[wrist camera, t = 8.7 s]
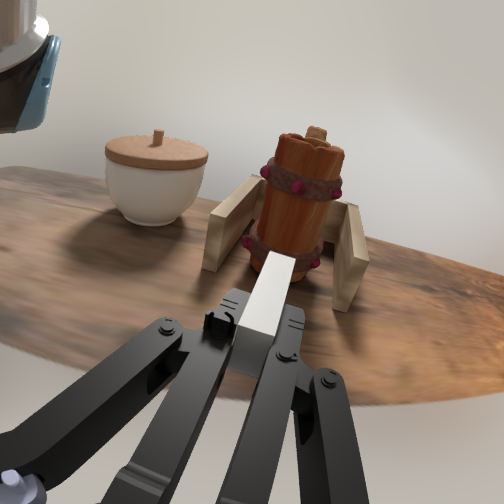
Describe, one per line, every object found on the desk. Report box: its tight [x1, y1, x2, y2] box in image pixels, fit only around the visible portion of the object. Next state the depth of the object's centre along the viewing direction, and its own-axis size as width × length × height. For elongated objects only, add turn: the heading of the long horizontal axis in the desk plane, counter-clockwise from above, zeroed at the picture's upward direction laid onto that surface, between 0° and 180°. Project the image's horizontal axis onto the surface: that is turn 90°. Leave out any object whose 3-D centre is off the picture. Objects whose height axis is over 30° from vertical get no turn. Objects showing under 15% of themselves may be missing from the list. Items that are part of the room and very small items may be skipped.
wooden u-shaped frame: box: [202, 174, 369, 313], centre depth 37 cm, size 15×16×6 cm
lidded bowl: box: [105, 129, 208, 227], centre depth 38 cm, size 13×13×11 cm
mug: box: [242, 126, 345, 282], centre depth 34 cm, size 15×8×15 cm, turn 165°
